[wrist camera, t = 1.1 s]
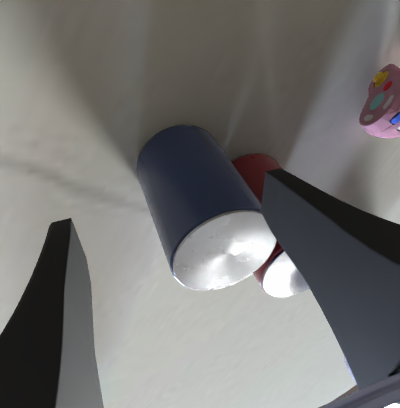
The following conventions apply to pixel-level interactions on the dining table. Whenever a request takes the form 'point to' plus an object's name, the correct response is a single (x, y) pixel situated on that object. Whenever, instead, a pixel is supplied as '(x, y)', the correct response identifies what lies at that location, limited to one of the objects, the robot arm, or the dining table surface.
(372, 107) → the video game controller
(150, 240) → the dining table surface
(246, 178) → the tin can burgundy
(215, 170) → the tin can navy
